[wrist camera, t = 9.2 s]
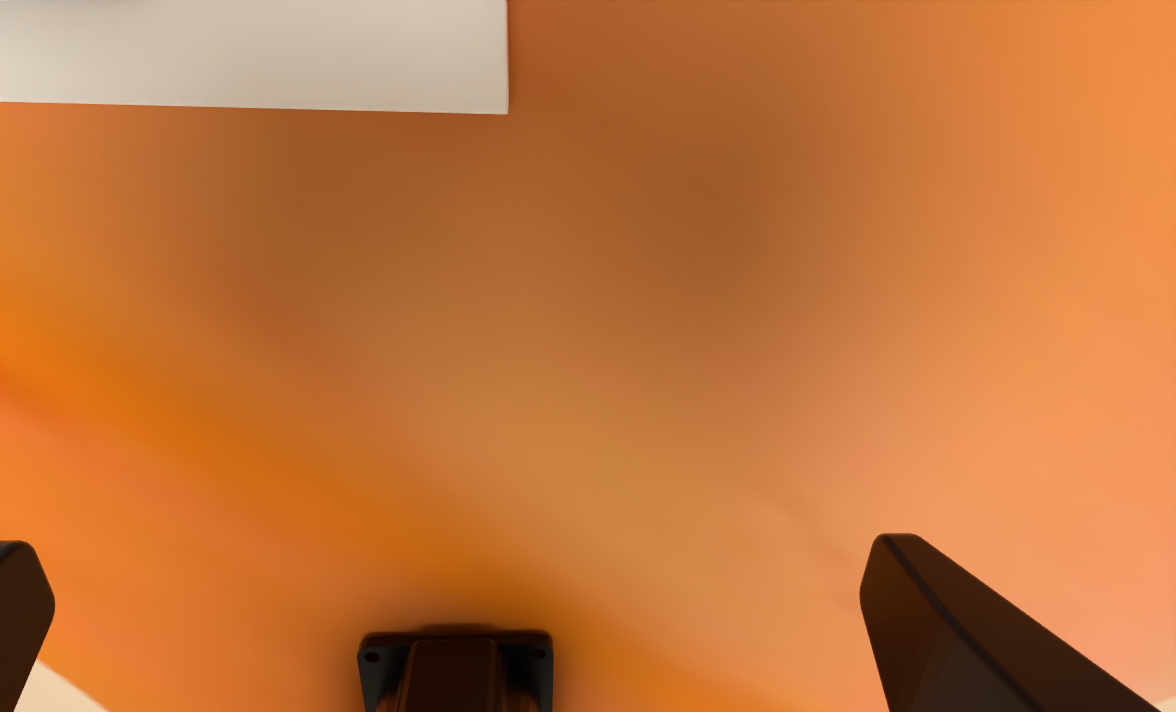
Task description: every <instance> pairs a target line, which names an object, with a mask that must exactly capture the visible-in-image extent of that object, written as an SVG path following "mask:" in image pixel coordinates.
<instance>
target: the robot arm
mask: <svg viewBox="0 0 1176 712" xmlns="http://www.w3.org/2000/svg"><path fill="white" fill-rule="evenodd" d="M860 605H861V610H862V614H863V617H864V621H865V625H866V628H867V632H868V635H869V639H870V643H871V646H872V650H873V654H874V657H875V661H876V664H877V668H878V672H879V675H880V679H881V683H882V686H883V690H884V693H885V697H886V701H887V704H888V708H889V712H1161V711H1159V710H1158V709H1157V708H1156V707H1154V706H1153V705H1151V704H1150V703H1149V702H1147V701H1146V700H1144V699H1143V698H1142V697H1140V696H1139V695H1138V694H1136V693H1135V692H1133V691H1132V690H1131V689H1129V688H1128V687H1127V686H1125V685H1124V684H1122V683H1121V682H1120V681H1118V680H1117V679H1116V678H1114V677H1113V676H1111V675H1110V674H1109V673H1107V672H1106V671H1105V670H1103V669H1102V668H1100V667H1099V666H1098V665H1096V664H1095V663H1093V662H1092V661H1091V660H1089V659H1088V658H1087V657H1085V656H1084V655H1082V654H1081V653H1080V652H1078V651H1077V650H1076V649H1074V648H1073V647H1071V646H1070V645H1069V644H1067V643H1066V642H1065V641H1063V640H1062V639H1060V638H1059V637H1058V636H1056V635H1055V634H1054V633H1052V632H1051V631H1049V630H1048V629H1047V628H1045V627H1044V626H1042V625H1041V624H1040V623H1038V622H1037V621H1036V620H1034V619H1033V618H1031V617H1030V616H1029V615H1027V614H1026V613H1025V612H1023V611H1022V610H1020V609H1019V608H1018V607H1016V606H1015V605H1014V604H1012V603H1011V602H1009V601H1008V600H1007V599H1005V598H1004V597H1002V596H1001V595H1000V594H998V593H997V592H996V591H994V590H993V589H991V588H990V587H989V586H987V585H986V584H985V583H983V582H982V581H980V580H979V579H978V578H976V577H975V576H974V575H972V574H971V573H969V572H968V571H967V570H965V569H964V568H963V567H961V566H960V565H958V564H957V563H956V562H954V561H953V560H951V559H950V558H949V557H947V556H946V555H945V554H943V553H942V552H940V551H939V550H938V549H936V548H935V547H934V546H932V545H931V544H929V543H928V542H927V541H925V540H924V539H923V538H921V537H919V536H918V535H915V534H911V533H884V534H881V535H878V536H877V537H876V538H875V540H874V542H873V544H872V547H871V551H870V554H869V558H868V561H867V565H866V568H865V571H864V575H863V578H862V582H861V586H860ZM54 612H55V599H54V594H53V592H52V589H51V587H50V584H49V582H48V580H47V577H46V575H45V573H44V570H43V568H42V566H41V563H40V561H39V558H38V556H37V554H36V551H35V550H34V548H33V547H32V546H31V545H30V544H29V543H27V542H24V541H19V540H11V541H0V712H14V709H15V707H16V704H17V702H18V700H19V698H20V695H21V693H22V690H23V688H24V686H25V683H26V681H27V679H28V676H29V674H30V672H31V669H32V667H33V665H34V662H35V660H36V658H37V655H38V653H39V651H40V648H41V646H42V644H43V641H44V639H45V637H46V634H47V632H48V630H49V627H50V625H51V623H52V620H53V616H54ZM537 649H539V650H537ZM357 661H358V667H359V673H360V679H361V685H362V691H363V697H364V703H365V709H366V712H552V698H553V641H552V640H551V639H550V638H549V637H548V636H545V635H541V634H525V635H465V636H405V637H370V638H366V639H364V640H363V641H362V642H361V643H360V646H359V650H358V654H357Z"/></svg>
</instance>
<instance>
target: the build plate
mask: <svg viewBox="0 0 1176 712" xmlns="http://www.w3.org/2000/svg"><path fill="white" fill-rule="evenodd" d="M0 102H39V103H79V104H118V105H157V106H197V107H236V108H276V109H315V110H354V111H394V112H433V113H472V114H507V113H508V107H509V72H508V2H507V0H0Z"/></svg>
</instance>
